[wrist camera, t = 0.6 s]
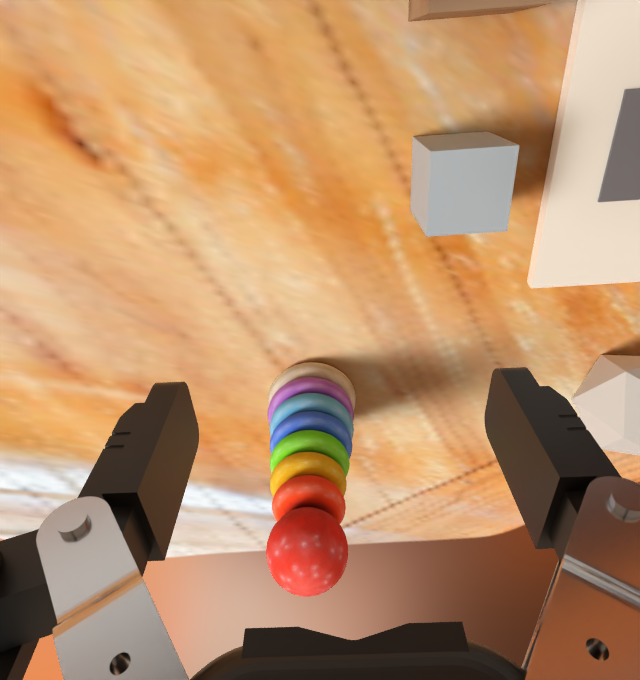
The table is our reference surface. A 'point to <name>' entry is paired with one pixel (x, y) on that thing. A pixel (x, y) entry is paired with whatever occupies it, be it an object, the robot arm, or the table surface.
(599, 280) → the cream board
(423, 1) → the walnut block
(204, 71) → the table surface
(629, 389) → the die
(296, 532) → the stacking toy
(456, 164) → the slate block
